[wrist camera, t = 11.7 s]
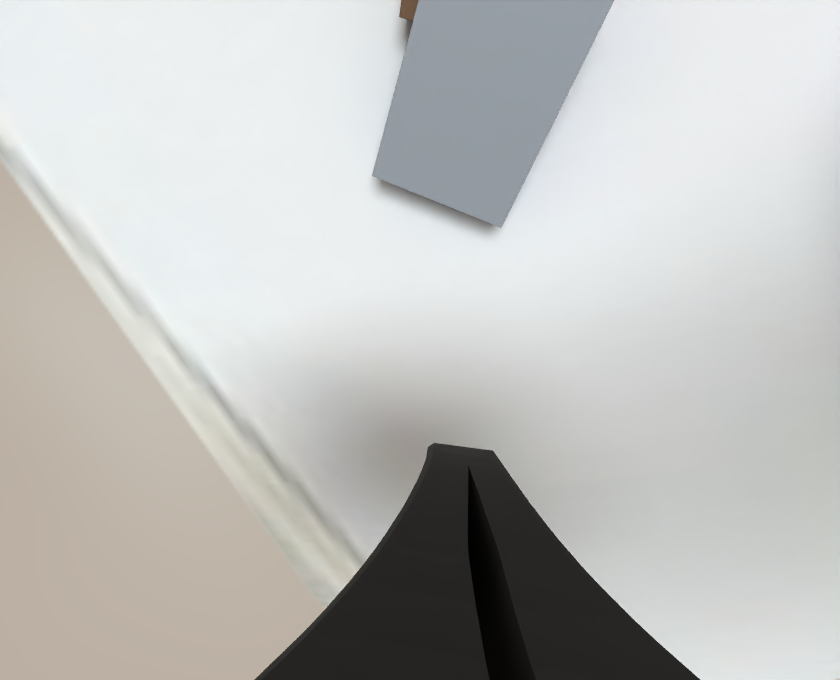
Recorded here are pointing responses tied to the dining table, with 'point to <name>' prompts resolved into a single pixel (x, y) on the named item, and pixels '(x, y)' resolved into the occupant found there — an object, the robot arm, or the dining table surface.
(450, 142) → the domino
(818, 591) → the dining table surface
